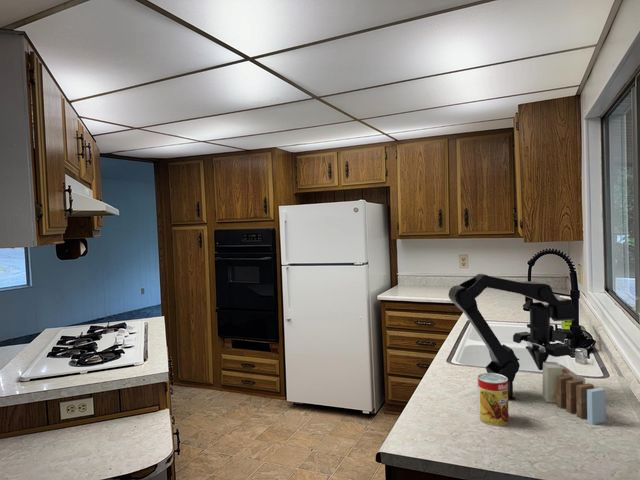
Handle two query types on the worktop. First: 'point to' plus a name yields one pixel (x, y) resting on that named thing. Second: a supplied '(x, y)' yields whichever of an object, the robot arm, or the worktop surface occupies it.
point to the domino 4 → (596, 406)
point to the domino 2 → (572, 395)
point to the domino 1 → (562, 390)
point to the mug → (571, 374)
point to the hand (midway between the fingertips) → (540, 370)
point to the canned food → (493, 399)
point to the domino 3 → (582, 399)
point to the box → (550, 380)
